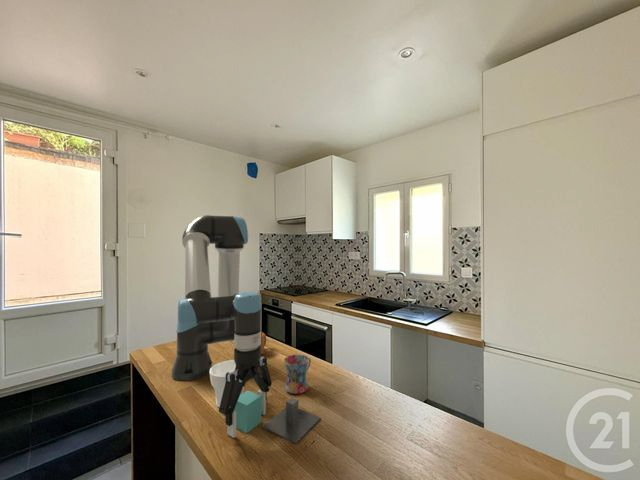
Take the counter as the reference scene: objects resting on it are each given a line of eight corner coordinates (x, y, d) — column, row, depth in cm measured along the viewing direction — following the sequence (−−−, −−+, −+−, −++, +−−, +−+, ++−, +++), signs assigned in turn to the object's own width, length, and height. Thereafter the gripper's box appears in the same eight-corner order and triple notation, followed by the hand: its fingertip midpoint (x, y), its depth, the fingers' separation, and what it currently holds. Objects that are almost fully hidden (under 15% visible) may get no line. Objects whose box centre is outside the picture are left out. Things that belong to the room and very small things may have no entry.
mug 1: (273, 351, 132) (273, 332, 132) (252, 358, 123) (252, 339, 123) (262, 346, 138) (262, 328, 138) (241, 353, 129) (241, 334, 129)
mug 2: (296, 399, 90) (296, 367, 90) (278, 390, 96) (278, 360, 96) (319, 385, 99) (319, 356, 99) (301, 377, 105) (301, 350, 105)
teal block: (233, 426, 76) (233, 399, 77) (247, 415, 81) (247, 390, 81) (246, 433, 73) (246, 405, 74) (261, 421, 78) (261, 395, 78)
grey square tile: (262, 428, 76) (262, 404, 76) (288, 406, 86) (288, 386, 86) (296, 444, 69) (296, 419, 69) (320, 419, 79) (320, 397, 80)
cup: (210, 417, 81) (211, 380, 81) (207, 396, 92) (207, 364, 92) (252, 405, 86) (252, 371, 87) (244, 387, 97) (244, 357, 98)
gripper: (223, 364, 66) (222, 455, 65) (283, 337, 86) (283, 407, 85) (204, 357, 70) (203, 443, 69) (265, 333, 90) (265, 400, 89)
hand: (247, 423), depth 77 cm, fingers open, 11 cm apart
